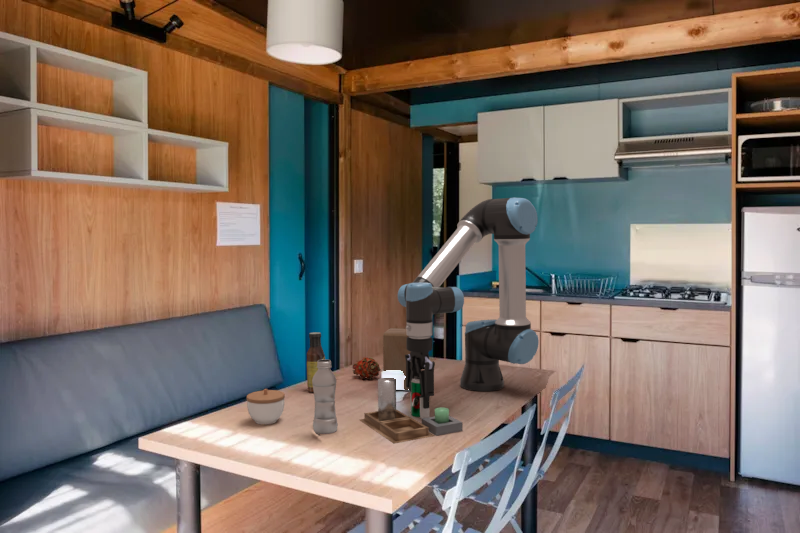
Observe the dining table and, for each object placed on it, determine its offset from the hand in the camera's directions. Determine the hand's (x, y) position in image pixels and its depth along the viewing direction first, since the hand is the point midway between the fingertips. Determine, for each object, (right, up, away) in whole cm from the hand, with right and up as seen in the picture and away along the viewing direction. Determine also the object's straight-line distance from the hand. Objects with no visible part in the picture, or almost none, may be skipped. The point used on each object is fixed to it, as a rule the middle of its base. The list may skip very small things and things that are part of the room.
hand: (419, 415), depth 178 cm
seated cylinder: (-9, 0, -7) cm, 12 cm away
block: (-6, +1, +35) cm, 36 cm away
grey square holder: (+6, -1, -13) cm, 14 cm away
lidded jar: (-44, -1, -1) cm, 44 cm away
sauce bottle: (-34, +1, +32) cm, 47 cm away
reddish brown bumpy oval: (-18, +2, +49) cm, 52 cm away
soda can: (0, -1, 0) cm, 1 cm away
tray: (-7, -1, -11) cm, 13 cm away
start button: (+6, +2, -13) cm, 14 cm away
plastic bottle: (-26, -2, -13) cm, 29 cm away
